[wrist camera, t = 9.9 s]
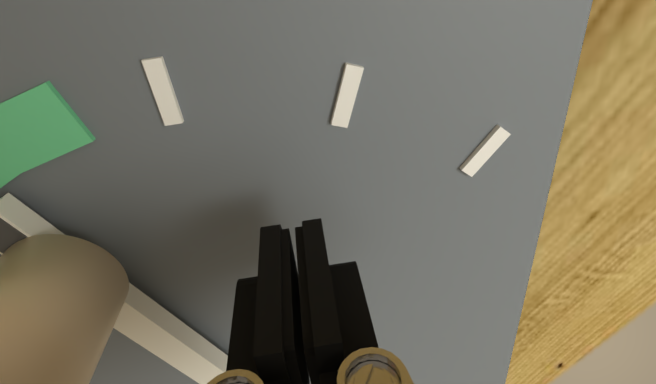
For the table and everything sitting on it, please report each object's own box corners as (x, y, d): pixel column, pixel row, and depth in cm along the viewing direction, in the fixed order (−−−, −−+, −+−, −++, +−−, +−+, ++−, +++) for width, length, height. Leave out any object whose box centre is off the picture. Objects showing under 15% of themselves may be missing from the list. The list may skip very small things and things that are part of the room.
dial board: (579, -118, 10) (628, -129, 9) (489, 367, 22) (504, 396, 21) (-358, 5, 10) (-471, 14, 8) (66, 444, 21) (50, 479, 20)
